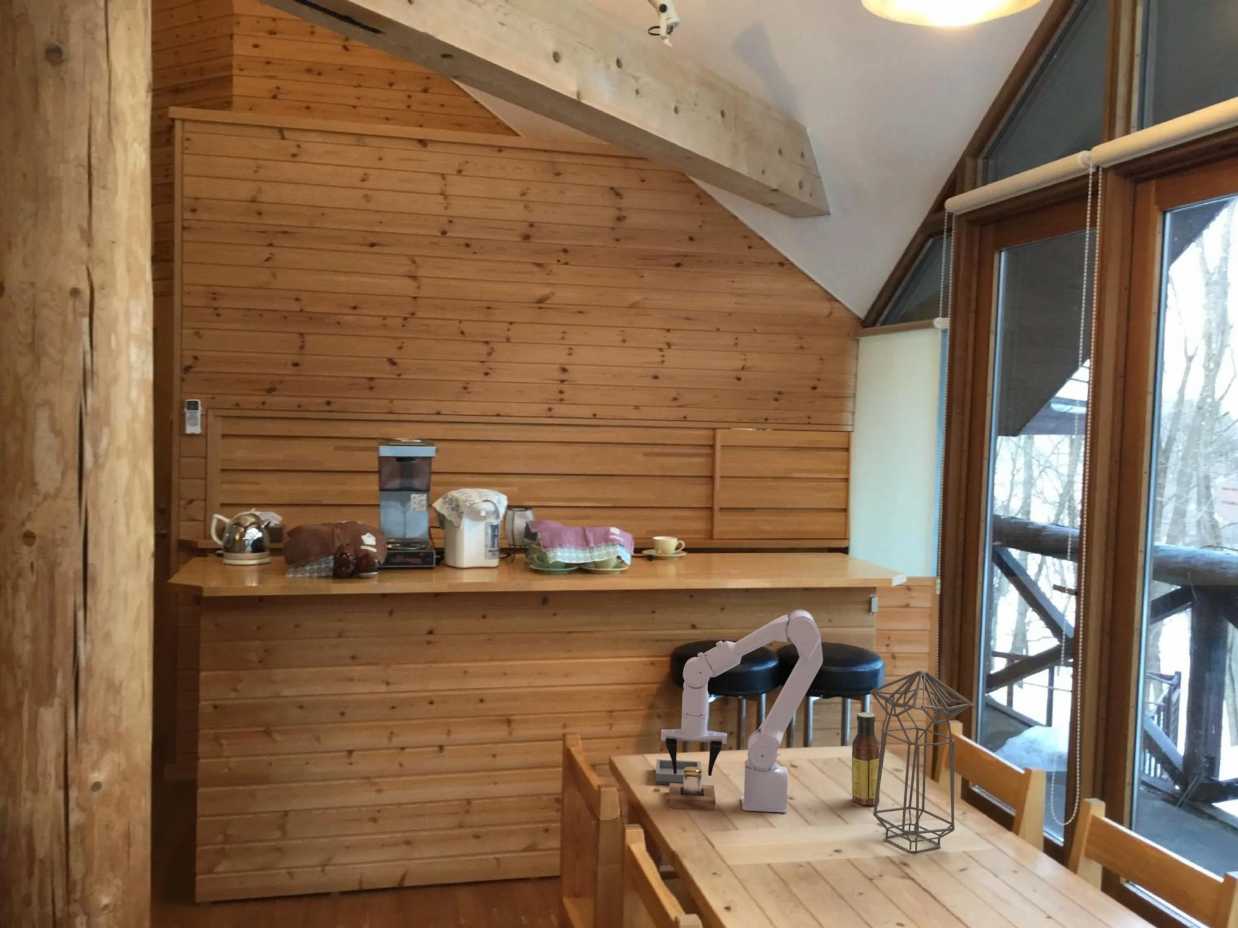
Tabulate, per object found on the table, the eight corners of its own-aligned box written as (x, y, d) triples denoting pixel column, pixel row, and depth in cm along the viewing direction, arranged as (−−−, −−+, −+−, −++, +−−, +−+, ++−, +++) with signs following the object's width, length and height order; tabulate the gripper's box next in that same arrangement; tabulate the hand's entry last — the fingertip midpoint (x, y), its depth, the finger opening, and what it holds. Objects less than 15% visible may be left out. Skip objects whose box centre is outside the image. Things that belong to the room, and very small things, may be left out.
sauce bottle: (877, 797, 231) (880, 711, 230) (882, 807, 225) (885, 718, 224) (848, 796, 231) (851, 709, 231) (852, 805, 225) (855, 716, 225)
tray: (700, 771, 245) (700, 761, 245) (701, 786, 235) (701, 775, 235) (656, 769, 246) (656, 759, 246) (655, 783, 235) (655, 773, 235)
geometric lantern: (857, 834, 209) (865, 664, 209) (917, 826, 215) (925, 661, 216) (909, 862, 195) (918, 680, 195) (971, 853, 201) (980, 677, 201)
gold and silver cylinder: (700, 797, 227) (701, 766, 227) (701, 804, 223) (702, 772, 223) (682, 796, 227) (683, 766, 227) (682, 803, 223) (684, 771, 223)
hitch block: (713, 793, 230) (713, 785, 230) (715, 809, 220) (715, 800, 220) (669, 791, 230) (669, 782, 230) (669, 807, 220) (669, 798, 220)
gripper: (726, 709, 228) (724, 769, 229) (662, 706, 229) (660, 765, 229) (728, 718, 221) (725, 779, 222) (661, 714, 222) (659, 775, 222)
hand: (692, 773), depth 225 cm, fingers open, 7 cm apart
